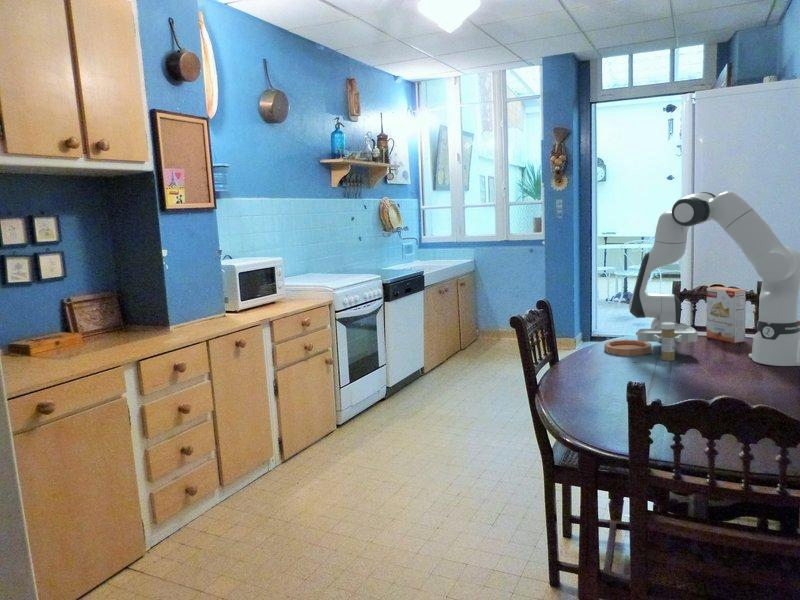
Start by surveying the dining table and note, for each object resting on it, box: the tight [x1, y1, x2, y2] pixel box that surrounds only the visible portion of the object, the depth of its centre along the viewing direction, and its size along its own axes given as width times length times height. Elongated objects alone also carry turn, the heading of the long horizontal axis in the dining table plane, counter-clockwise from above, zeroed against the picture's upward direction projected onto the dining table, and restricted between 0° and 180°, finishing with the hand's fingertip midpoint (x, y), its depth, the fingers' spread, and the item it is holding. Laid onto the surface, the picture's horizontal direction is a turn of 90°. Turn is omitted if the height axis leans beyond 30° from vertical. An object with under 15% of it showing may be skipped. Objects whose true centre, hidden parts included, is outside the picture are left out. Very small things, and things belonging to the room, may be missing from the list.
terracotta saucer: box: [603, 339, 652, 357], centre depth 233 cm, size 17×17×2 cm
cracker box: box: [706, 286, 747, 344], centre depth 239 cm, size 14×6×21 cm, turn 17°
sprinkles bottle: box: [660, 322, 676, 362], centre depth 215 cm, size 5×5×13 cm
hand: (668, 339), depth 214 cm, fingers closed on sprinkles bottle, 4 cm apart
